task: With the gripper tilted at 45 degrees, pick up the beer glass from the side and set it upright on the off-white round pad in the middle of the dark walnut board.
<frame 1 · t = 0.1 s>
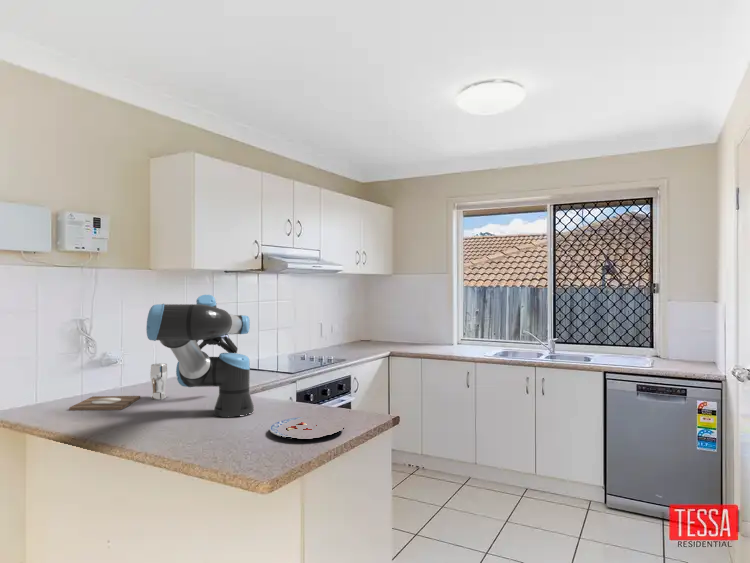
hand: (215, 363, 227), 15 cm above the countertop, fingers open, 13 cm apart
ceramic plate: (307, 433, 174), on the countertop
walnut board: (106, 404, 212), on the countertop
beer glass: (158, 398, 224), on the countertop
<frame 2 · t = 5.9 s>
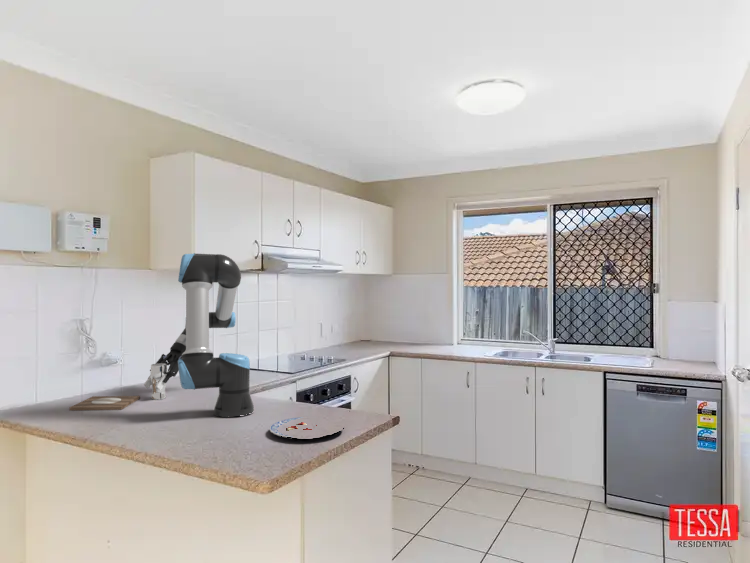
hand: (152, 387, 221), 6 cm above the countertop, fingers closed on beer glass, 7 cm apart
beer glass: (158, 398, 224), on the countertop, touching gripper
everything else where it was.
when the fingers open (8 cm above the countertop, at t = 13.0 s): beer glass drops 1 cm, resting on walnut board.
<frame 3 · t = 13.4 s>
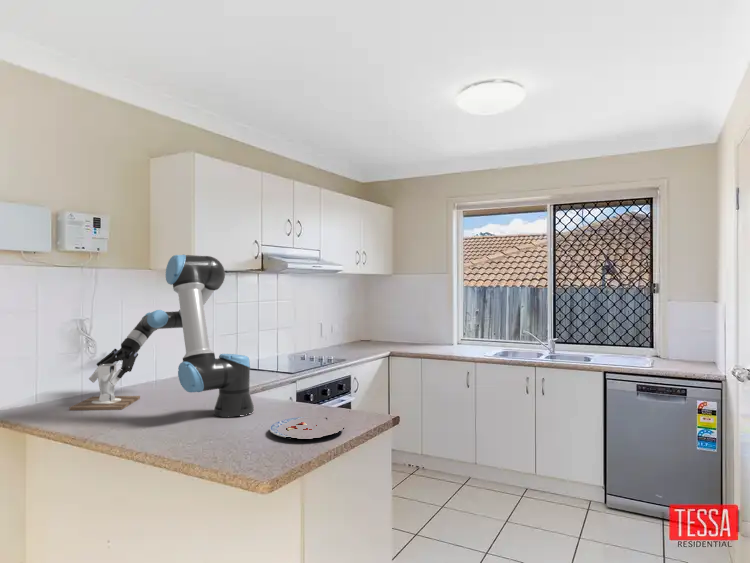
hand: (101, 382, 210), 10 cm above the countertop, fingers open, 13 cm apart
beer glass: (107, 401, 212), point 1 cm above the countertop, touching walnut board
everything else where it was.
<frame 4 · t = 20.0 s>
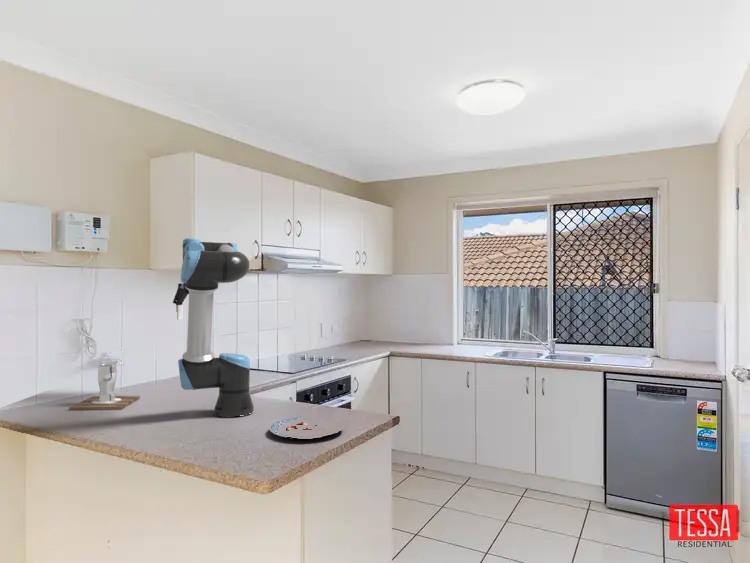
hand: (190, 320, 227), 35 cm above the countertop, fingers open, 13 cm apart
nothing on the countertop moved.
at the end: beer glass inside the target area on the walnut board (0.2 cm from its centre), point 1.3 cm above the walnut board's base; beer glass tilted 0°; the gripper is holding nothing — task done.
